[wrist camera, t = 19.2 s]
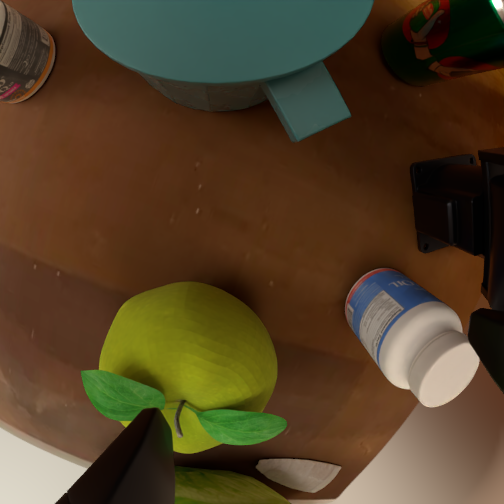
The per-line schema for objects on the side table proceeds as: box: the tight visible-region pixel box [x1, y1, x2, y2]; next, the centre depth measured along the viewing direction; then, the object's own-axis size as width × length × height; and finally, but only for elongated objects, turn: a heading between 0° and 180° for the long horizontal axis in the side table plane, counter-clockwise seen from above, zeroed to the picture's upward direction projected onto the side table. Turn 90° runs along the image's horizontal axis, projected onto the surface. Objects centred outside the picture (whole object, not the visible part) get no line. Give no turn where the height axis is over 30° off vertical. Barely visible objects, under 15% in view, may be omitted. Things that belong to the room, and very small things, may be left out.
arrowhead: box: [256, 459, 341, 493], centre depth 26 cm, size 5×1×10 cm
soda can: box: [381, 0, 504, 87], centre depth 11 cm, size 5×5×12 cm
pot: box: [139, 61, 351, 143], centre depth 12 cm, size 11×16×8 cm, turn 27°
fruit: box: [81, 281, 287, 454], centre depth 16 cm, size 9×9×10 cm
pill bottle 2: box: [345, 268, 480, 407], centre depth 17 cm, size 6×5×10 cm
